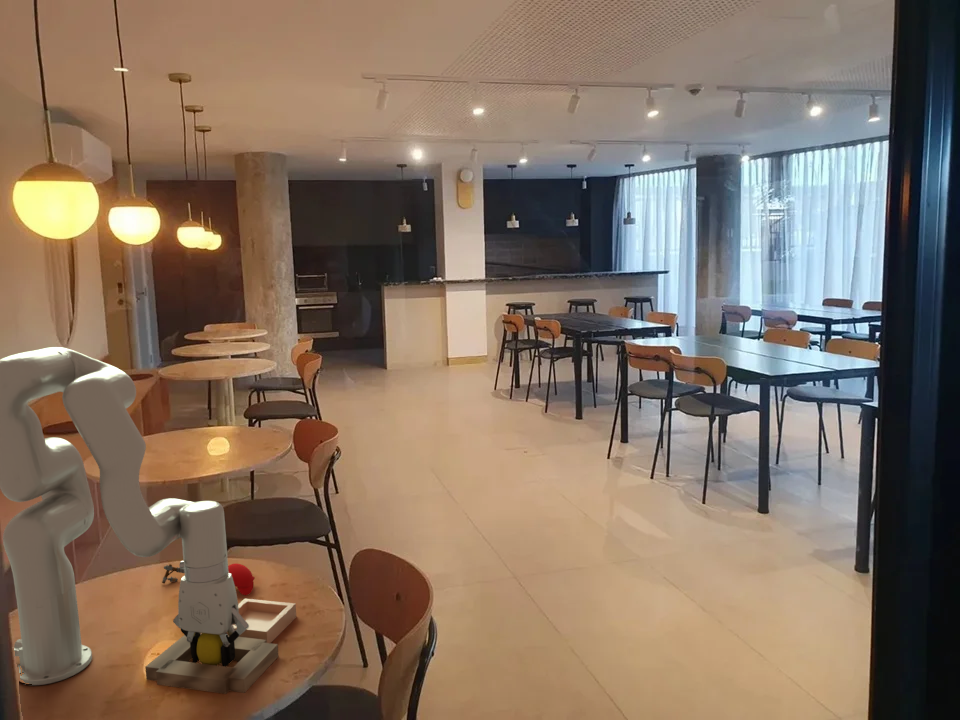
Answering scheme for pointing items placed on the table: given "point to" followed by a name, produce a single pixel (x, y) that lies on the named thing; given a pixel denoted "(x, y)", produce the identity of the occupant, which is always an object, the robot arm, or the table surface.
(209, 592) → the robot arm
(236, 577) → the cap
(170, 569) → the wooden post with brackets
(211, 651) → the lemon
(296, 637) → the table surface
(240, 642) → the rectangular open frame
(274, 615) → the tray
